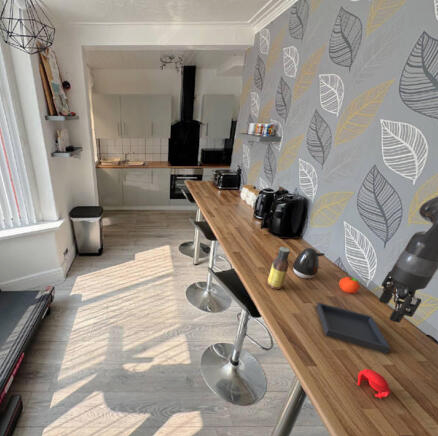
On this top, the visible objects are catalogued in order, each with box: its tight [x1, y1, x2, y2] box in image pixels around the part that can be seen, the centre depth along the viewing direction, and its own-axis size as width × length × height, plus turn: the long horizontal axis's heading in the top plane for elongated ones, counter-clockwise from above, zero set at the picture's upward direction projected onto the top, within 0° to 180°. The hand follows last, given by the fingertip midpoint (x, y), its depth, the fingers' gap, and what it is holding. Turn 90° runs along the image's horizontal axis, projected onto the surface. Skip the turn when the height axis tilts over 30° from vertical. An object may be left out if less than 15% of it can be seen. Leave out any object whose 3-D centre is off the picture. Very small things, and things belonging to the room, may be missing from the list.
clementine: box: [338, 276, 362, 294], centre depth 105 cm, size 8×7×7 cm
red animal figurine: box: [357, 368, 391, 399], centre depth 67 cm, size 8×6×6 cm
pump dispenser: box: [292, 247, 326, 280], centre depth 113 cm, size 10×10×15 cm
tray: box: [315, 302, 391, 354], centre depth 87 cm, size 18×15×3 cm
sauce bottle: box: [266, 246, 291, 290], centre depth 104 cm, size 7×6×20 cm
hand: (388, 311), depth 72 cm, fingers open, 8 cm apart
